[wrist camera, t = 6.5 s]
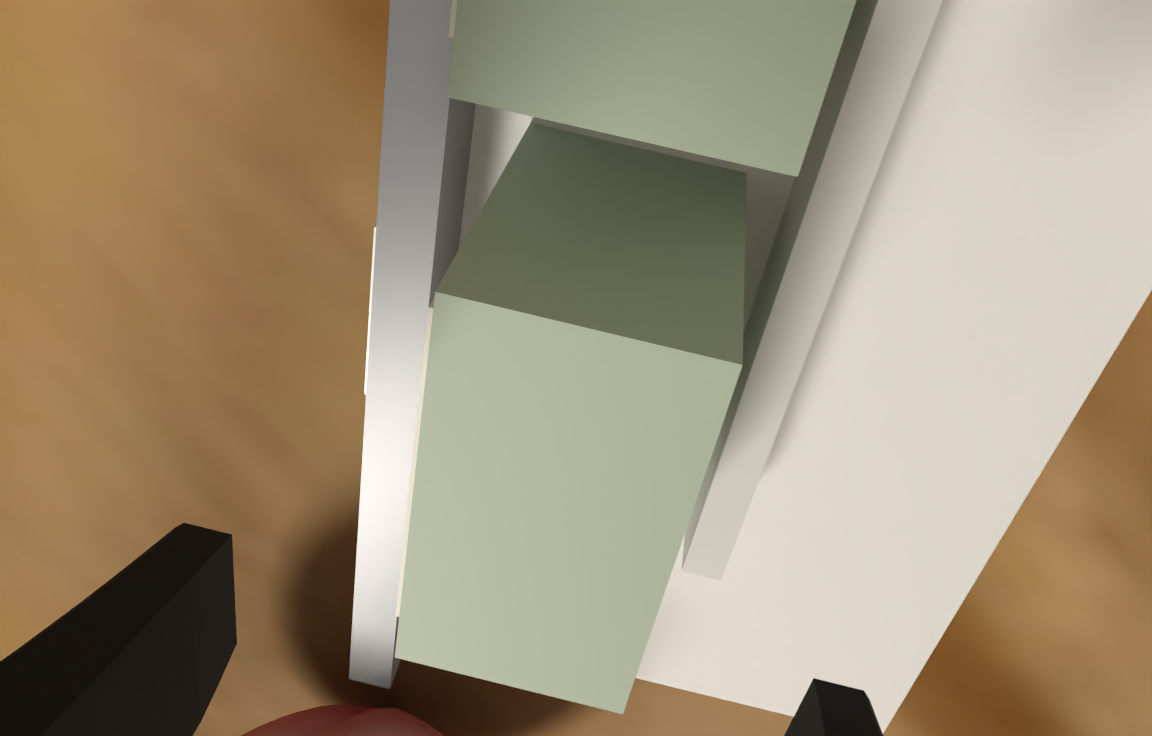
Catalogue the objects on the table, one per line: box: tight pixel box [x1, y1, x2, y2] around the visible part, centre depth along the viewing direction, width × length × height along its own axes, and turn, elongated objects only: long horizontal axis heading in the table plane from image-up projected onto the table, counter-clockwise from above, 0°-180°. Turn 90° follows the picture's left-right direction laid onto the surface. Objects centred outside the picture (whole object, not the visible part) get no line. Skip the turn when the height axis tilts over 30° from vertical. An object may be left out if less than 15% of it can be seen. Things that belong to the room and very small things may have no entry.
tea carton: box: [395, 123, 746, 714], centre depth 16 cm, size 7×4×6 cm, turn 170°
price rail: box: [349, 0, 476, 689], centre depth 17 cm, size 1×24×2 cm, turn 170°
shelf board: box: [459, 0, 1152, 734], centre depth 17 cm, size 13×24×3 cm, turn 170°
